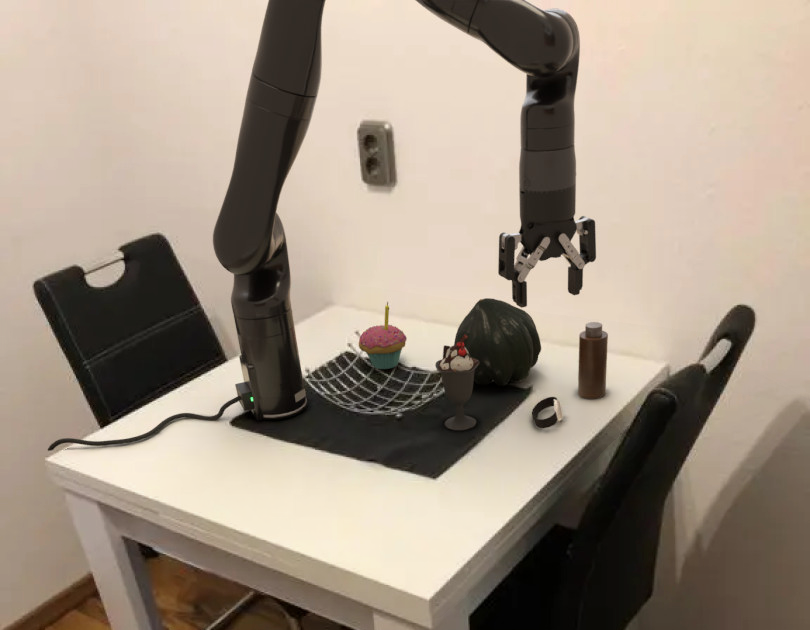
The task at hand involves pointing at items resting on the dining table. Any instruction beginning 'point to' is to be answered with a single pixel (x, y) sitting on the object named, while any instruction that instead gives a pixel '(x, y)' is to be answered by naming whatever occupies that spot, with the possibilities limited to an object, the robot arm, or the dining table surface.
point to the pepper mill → (592, 361)
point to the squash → (499, 341)
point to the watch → (543, 405)
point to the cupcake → (383, 344)
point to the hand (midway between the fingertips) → (547, 299)
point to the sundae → (458, 382)
